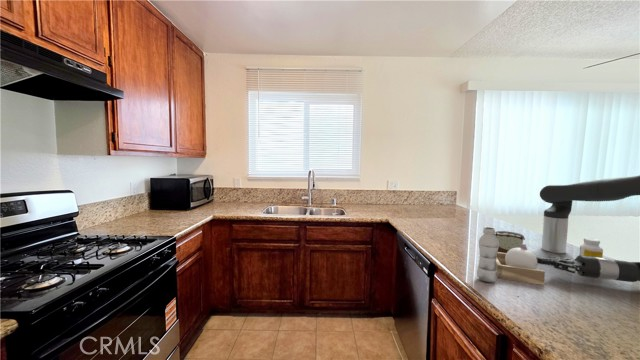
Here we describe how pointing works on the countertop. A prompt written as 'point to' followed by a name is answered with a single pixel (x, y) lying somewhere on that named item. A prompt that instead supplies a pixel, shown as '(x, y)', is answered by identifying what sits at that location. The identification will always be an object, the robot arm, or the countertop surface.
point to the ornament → (521, 258)
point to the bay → (518, 272)
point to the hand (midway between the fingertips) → (537, 260)
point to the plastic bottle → (488, 255)
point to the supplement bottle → (591, 248)
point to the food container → (508, 240)
